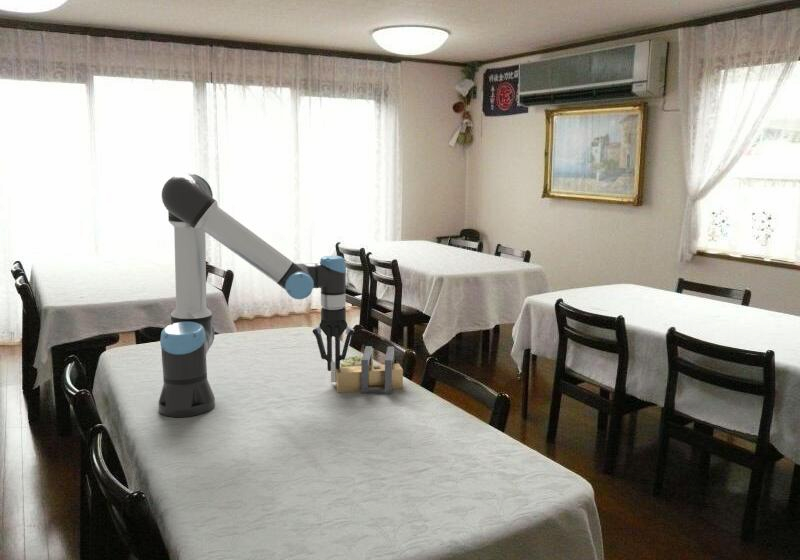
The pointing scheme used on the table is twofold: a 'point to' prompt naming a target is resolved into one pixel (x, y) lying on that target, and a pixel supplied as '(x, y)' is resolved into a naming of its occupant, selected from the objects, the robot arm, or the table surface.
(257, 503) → the table surface
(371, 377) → the tan wooden brick
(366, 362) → the grey cradle stand
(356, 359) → the decorated donut
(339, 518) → the table surface
